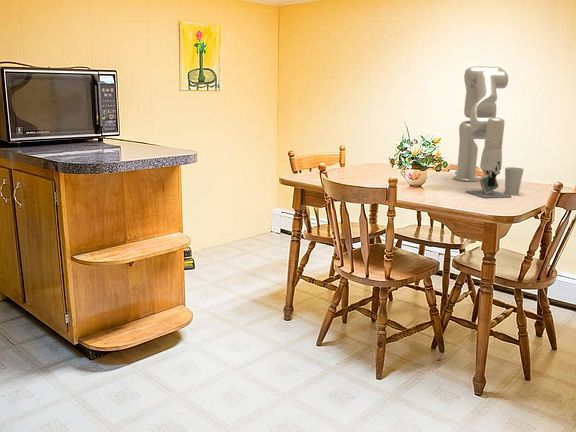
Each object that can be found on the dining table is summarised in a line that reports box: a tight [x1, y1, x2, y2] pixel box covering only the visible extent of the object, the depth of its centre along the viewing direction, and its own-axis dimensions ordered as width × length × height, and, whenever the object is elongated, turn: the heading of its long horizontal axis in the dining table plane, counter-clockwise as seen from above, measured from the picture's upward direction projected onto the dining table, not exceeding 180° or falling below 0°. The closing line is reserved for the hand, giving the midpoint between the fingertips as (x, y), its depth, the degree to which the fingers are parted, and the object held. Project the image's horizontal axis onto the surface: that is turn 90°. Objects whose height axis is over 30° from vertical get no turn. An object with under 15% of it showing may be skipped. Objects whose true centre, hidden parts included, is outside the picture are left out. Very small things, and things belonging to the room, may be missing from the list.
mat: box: [465, 189, 512, 199], centre depth 248 cm, size 15×14×1 cm
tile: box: [478, 171, 500, 194], centre depth 246 cm, size 2×8×7 cm
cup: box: [503, 166, 525, 196], centre depth 250 cm, size 8×8×12 cm
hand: (489, 185), depth 246 cm, fingers closed on tile, 2 cm apart
